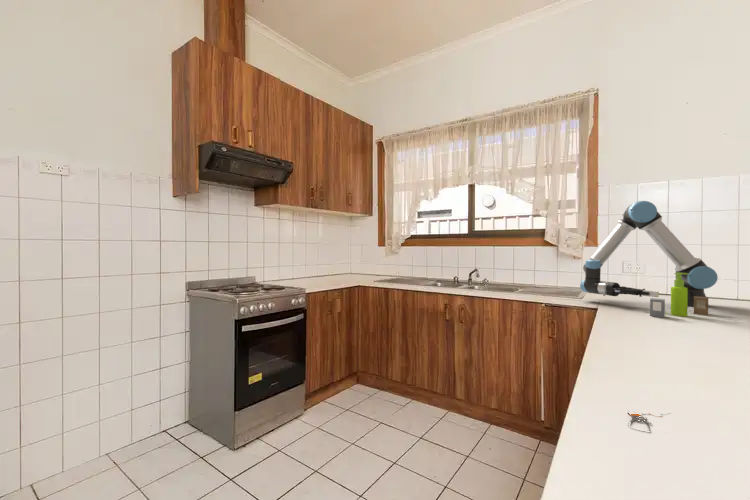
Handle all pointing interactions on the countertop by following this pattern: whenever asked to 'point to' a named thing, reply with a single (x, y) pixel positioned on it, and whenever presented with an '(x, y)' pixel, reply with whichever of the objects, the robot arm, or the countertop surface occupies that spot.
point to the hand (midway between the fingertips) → (657, 294)
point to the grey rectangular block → (657, 307)
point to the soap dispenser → (679, 297)
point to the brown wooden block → (701, 305)
